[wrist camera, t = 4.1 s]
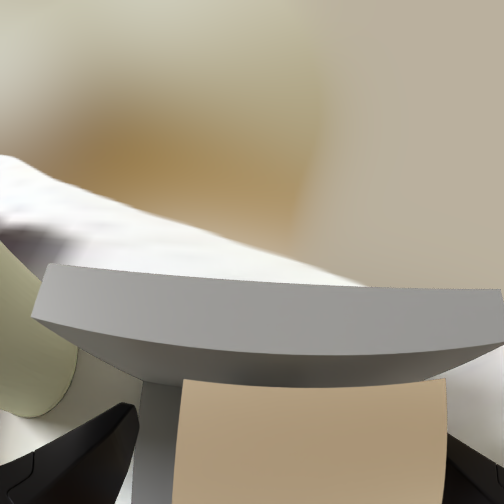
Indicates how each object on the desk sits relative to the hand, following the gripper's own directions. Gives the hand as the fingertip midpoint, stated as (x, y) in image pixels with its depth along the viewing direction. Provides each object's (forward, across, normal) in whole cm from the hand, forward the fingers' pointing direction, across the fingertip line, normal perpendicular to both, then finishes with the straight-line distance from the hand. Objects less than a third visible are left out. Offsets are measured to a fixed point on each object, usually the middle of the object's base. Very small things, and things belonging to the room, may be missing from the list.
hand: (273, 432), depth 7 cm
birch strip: (+3, 0, +5) cm, 6 cm away
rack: (+1, 0, +9) cm, 9 cm away
